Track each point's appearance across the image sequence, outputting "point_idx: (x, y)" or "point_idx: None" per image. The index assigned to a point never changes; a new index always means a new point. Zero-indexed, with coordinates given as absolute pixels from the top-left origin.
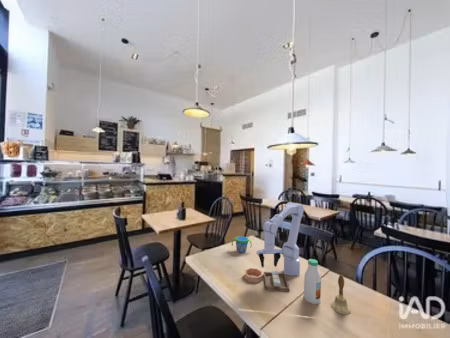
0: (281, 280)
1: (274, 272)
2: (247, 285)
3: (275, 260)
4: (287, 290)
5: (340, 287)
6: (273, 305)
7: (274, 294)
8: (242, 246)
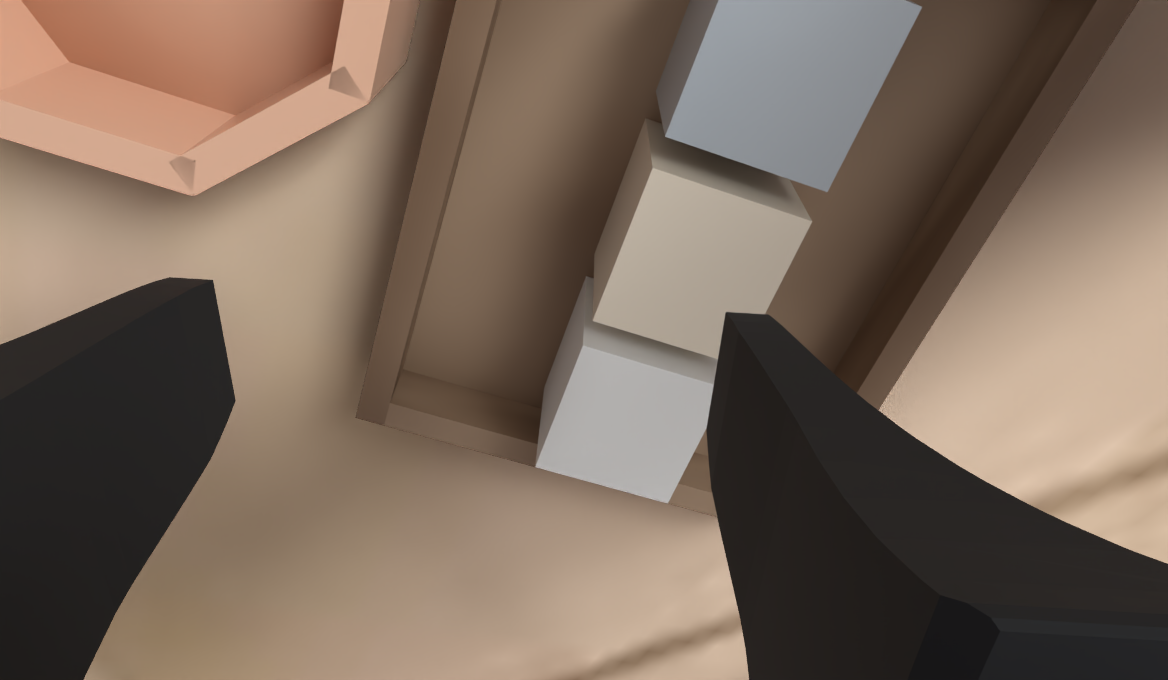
0: (875, 159)
1: (785, 56)
2: (10, 163)
3: (762, 588)
4: None
5: None
6: (391, 650)
7: (499, 482)
8: None
